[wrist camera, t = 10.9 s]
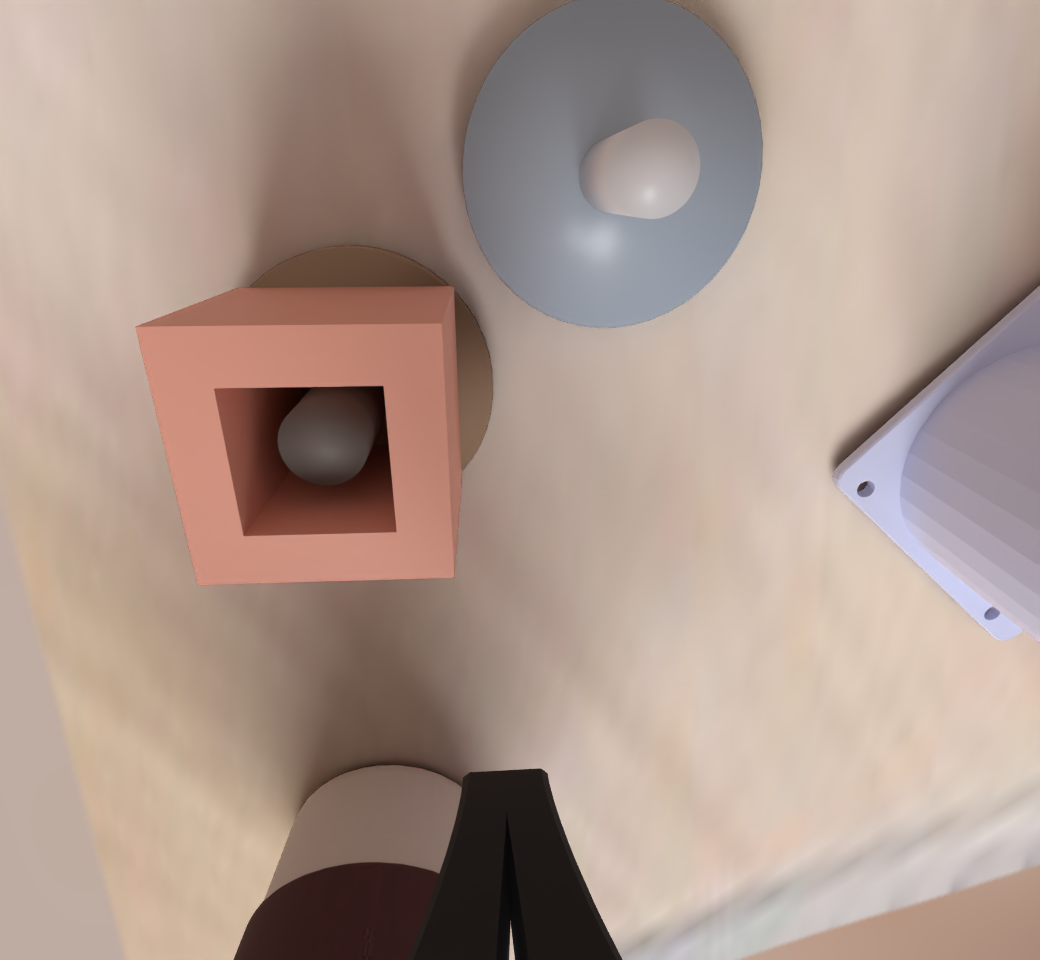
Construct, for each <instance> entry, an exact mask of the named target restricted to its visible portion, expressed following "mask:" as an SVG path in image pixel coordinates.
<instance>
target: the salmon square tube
mask: <svg viewBox="0 0 1040 960" xmlns="http://www.w3.org/2000/svg"><path fill="white" fill-rule="evenodd" d="M136 331H137V335H138V339H139V344H140V348H141V352H142V356H143V360H144V364H145V368H146V373H147V377H148V381H149V385H150V389H151V393H152V397H153V401H154V406H155V410H156V414H157V418H158V422H159V426H160V430H161V435H162V439H163V443H164V447H165V451H166V455H167V459H168V464H169V468H170V472H171V476H172V480H173V484H174V488H175V492H176V497H177V501H178V505H179V509H180V513H181V517H182V521H183V526H184V530H185V534H186V538H187V542H188V546H189V550H190V555H191V559H192V563H193V567H194V571H195V575H196V579H197V584H198V585H218V584H253V583H287V582H322V581H357V580H392V579H426V578H454V576H455V563H456V550H457V537H458V524H459V511H460V498H461V485H462V470H461V446H460V422H459V398H458V373H457V349H456V325H455V301H454V286H417V287H289V288H236V289H234V290H231V291H228V292H226V293H223V294H220V295H218V296H215V297H213V298H210V299H207V300H205V301H202V302H199V303H197V304H194V305H191V306H189V307H186V308H184V309H181V310H178V311H176V312H173V313H170V314H168V315H165V316H162V317H160V318H157V319H154V320H152V321H149V322H147V323H144V324H141V325H139V326H136ZM343 386H384V397H385V408H386V419H387V430H388V441H389V444H373V446H372V448H371V451H370V453H369V455H368V457H367V460H366V462H365V464H364V466H363V468H362V469H361V470H360V472H359V473H358V474H357V475H356V476H354V477H353V478H352V479H350V480H348V481H346V482H344V483H341V484H338V485H331V486H324V485H317V484H313V483H310V482H307V481H305V480H303V479H301V478H300V477H298V476H297V475H296V474H294V473H293V472H292V471H291V470H290V469H289V468H288V467H287V465H286V464H285V462H284V461H283V459H282V457H281V455H280V452H279V448H278V432H279V428H280V426H281V423H282V422H283V420H284V419H285V417H286V416H287V415H288V414H289V413H290V412H291V411H292V409H293V408H294V407H295V406H296V405H297V404H298V403H299V402H300V393H299V387H343Z"/></svg>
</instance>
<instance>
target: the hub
mask: <svg viewBox="0 0 1040 960" xmlns="http://www.w3.org/2000/svg"><path fill="white" fill-rule="evenodd" d="M417 286H449V285H448V284H447V283H446V282H445V281H444V280H442V279H441V278H440V277H439V276H437V275H436V274H435V273H433V272H432V271H431V270H429V269H428V268H426V267H424V266H422V265H421V264H419V263H417V262H415V261H414V260H412V259H409V258H407V257H404V256H402V255H399V254H397V253H394V252H390V251H387V250H383V249H379V248H374V247H366V246H334V247H327V248H321V249H318V250H314V251H311V252H308V253H304V254H301V255H298V256H295V257H293V258H291V259H289V260H287V261H285V262H282V263H280V264H278V265H277V266H275V267H274V268H272V269H271V270H269V271H268V272H266V273H265V274H263V275H262V276H261V277H260V278H259V279H258V280H257V281H256V282H255V283H254V284H252V285H251V286H250V287H249V288H289V287H417ZM454 301H455V325H456V349H457V373H458V398H459V422H460V446H461V470H462V471H463V470H464V468H465V467H466V466H467V464H468V463H469V462H470V461H471V459H472V458H473V456H474V455H475V453H476V451H477V450H478V448H479V446H480V444H481V442H482V440H483V437H484V435H485V432H486V430H487V427H488V423H489V419H490V415H491V409H492V400H493V379H492V368H491V361H490V355H489V352H488V348H487V345H486V342H485V338H484V336H483V334H482V332H481V329H480V327H479V325H478V323H477V321H476V319H475V318H474V316H473V314H472V313H471V311H470V309H469V308H468V307H467V305H466V304H465V303H464V301H463V300H462V299H461V298H460V296H459V295H458V294H457V293H456V292H455V291H454ZM299 393H300V402H299V403H298V404H297V405H296V406H295V407H294V408H293V409H292V411H291V412H290V413H289V414H288V415H287V416H286V417H285V419H284V420H283V422H282V423H281V426H280V428H279V432H278V448H279V452H280V455H281V457H282V459H283V461H284V462H285V464H286V465H287V467H288V468H289V469H290V470H291V471H292V472H293V473H294V474H296V475H297V476H298V477H300V478H301V479H303V480H305V481H307V482H310V483H313V484H317V485H324V486H331V485H338V484H341V483H344V482H346V481H348V480H350V479H352V478H353V477H354V476H356V475H357V474H358V473H359V472H360V470H361V469H362V468H363V466H364V464H365V462H366V460H367V457H368V455H369V453H370V451H371V448H372V446H373V444H389V441H388V430H387V419H386V408H385V397H384V386H343V387H299Z"/></svg>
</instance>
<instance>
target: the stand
mask: <svg viewBox="0 0 1040 960" xmlns="http://www.w3.org/2000/svg"><path fill="white" fill-rule="evenodd" d="M762 148H763V142H762V132H761V122H760V117H759V113H758V108H757V104H756V100H755V97H754V94H753V91H752V89H751V86H750V83H749V80H748V78H747V76H746V74H745V72H744V70H743V68H742V67H741V65H740V63H739V61H738V59H737V58H736V56H735V55H734V54H733V52H732V51H731V49H730V48H729V47H728V45H727V44H726V42H725V41H724V40H723V39H722V38H721V37H720V36H719V35H718V34H717V33H716V32H715V31H714V30H713V29H712V28H711V27H710V26H709V25H708V24H706V23H705V22H704V21H702V20H701V19H700V18H698V17H697V16H696V15H695V14H693V13H691V12H690V11H688V10H686V9H684V8H682V7H680V6H678V5H677V4H675V3H672V2H669V1H666V0H575V1H572V2H569V3H567V4H565V5H563V6H561V7H559V8H557V9H555V10H553V11H551V12H549V13H547V14H546V15H544V16H543V17H541V18H540V19H539V20H537V21H536V22H534V23H533V24H531V25H530V26H529V27H528V28H527V29H526V30H524V31H523V32H522V33H521V34H520V35H519V36H518V37H517V38H516V39H515V40H513V42H512V43H511V44H510V45H509V46H508V48H507V49H506V50H505V51H504V52H503V54H502V55H501V56H500V57H499V58H498V60H497V62H496V63H495V65H494V66H493V68H492V69H491V71H490V73H489V74H488V76H487V77H486V79H485V81H484V83H483V85H482V88H481V90H480V92H479V94H478V96H477V98H476V101H475V104H474V107H473V110H472V113H471V116H470V119H469V123H468V127H467V132H466V137H465V142H464V153H463V165H462V166H463V189H464V195H465V202H466V208H467V212H468V215H469V219H470V223H471V226H472V229H473V232H474V234H475V236H476V239H477V241H478V244H479V246H480V248H481V250H482V252H483V253H484V255H485V257H486V259H487V260H488V262H489V264H490V265H491V267H492V268H493V269H494V271H495V272H496V273H497V275H498V276H499V277H500V279H501V280H502V281H503V282H504V283H505V284H506V285H507V286H508V287H509V288H510V289H511V290H512V291H513V292H514V293H515V294H516V295H517V296H519V297H520V298H521V299H522V300H524V301H525V302H526V303H528V304H529V305H530V306H532V307H534V308H535V309H537V310H539V311H541V312H542V313H544V314H546V315H548V316H551V317H553V318H556V319H558V320H560V321H563V322H567V323H571V324H575V325H579V326H586V327H594V328H615V327H622V326H629V325H634V324H638V323H641V322H645V321H648V320H651V319H654V318H656V317H658V316H661V315H663V314H665V313H668V312H669V311H671V310H673V309H675V308H676V307H678V306H680V305H681V304H683V303H685V302H686V301H687V300H689V299H690V298H691V297H693V296H694V295H695V294H697V293H698V292H699V291H700V290H701V289H702V288H703V287H704V286H705V285H706V284H708V283H709V282H710V281H711V280H712V279H713V278H714V276H715V275H716V274H717V273H718V272H719V270H720V269H721V268H722V267H723V266H724V264H725V263H726V262H727V260H728V259H729V257H730V256H731V254H732V253H733V251H734V250H735V248H736V247H737V245H738V243H739V241H740V239H741V237H742V235H743V233H744V231H745V229H746V227H747V225H748V222H749V219H750V217H751V214H752V211H753V209H754V205H755V201H756V197H757V194H758V190H759V185H760V177H761V170H762Z"/></svg>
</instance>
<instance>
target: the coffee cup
mask: <svg viewBox="0 0 1040 960" xmlns="http://www.w3.org/2000/svg"><path fill="white" fill-rule="evenodd" d="M461 791H462V787H461V786H459V785H458V784H457V783H455V782H453V781H452V780H450V779H448V778H446V777H445V776H442V775H440V774H437V773H434V772H431V771H428V770H425V769H421V768H416V767H409V766H403V765H378V766H371V767H365V768H360V769H357V770H353V771H350V772H347V773H344V774H342V775H340V776H338V777H336V778H333V779H332V780H330V781H329V782H327V783H326V784H324V785H323V786H321V787H320V788H318V789H317V790H316V791H315V792H314V793H313V794H312V795H311V796H310V797H309V798H308V799H307V801H306V802H305V803H304V805H303V806H302V808H301V809H300V811H299V813H298V815H297V816H296V818H295V821H294V823H293V826H292V829H291V831H290V834H289V837H288V839H287V842H286V844H285V847H284V850H283V852H282V855H281V858H280V860H279V863H278V865H277V868H276V871H275V873H274V876H273V879H272V881H271V884H270V886H269V889H268V892H267V894H266V897H265V900H264V901H263V902H262V904H261V905H260V906H259V907H258V909H257V910H256V911H255V913H254V914H253V916H252V917H251V919H250V921H249V923H248V925H247V927H246V930H245V932H244V935H243V937H242V940H241V942H240V945H239V947H238V950H237V953H236V955H235V958H234V960H407V958H408V956H409V953H410V951H411V948H412V946H413V943H414V941H415V938H416V936H417V933H418V931H419V928H420V926H421V923H422V921H423V918H424V916H425V913H426V910H427V908H428V905H429V902H430V900H431V897H432V894H433V891H434V888H435V885H436V882H437V879H438V876H439V873H440V870H441V867H442V864H443V861H444V858H445V855H446V852H447V848H448V845H449V841H450V838H451V834H452V831H453V827H454V823H455V819H456V815H457V811H458V806H459V801H460V797H461Z"/></svg>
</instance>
